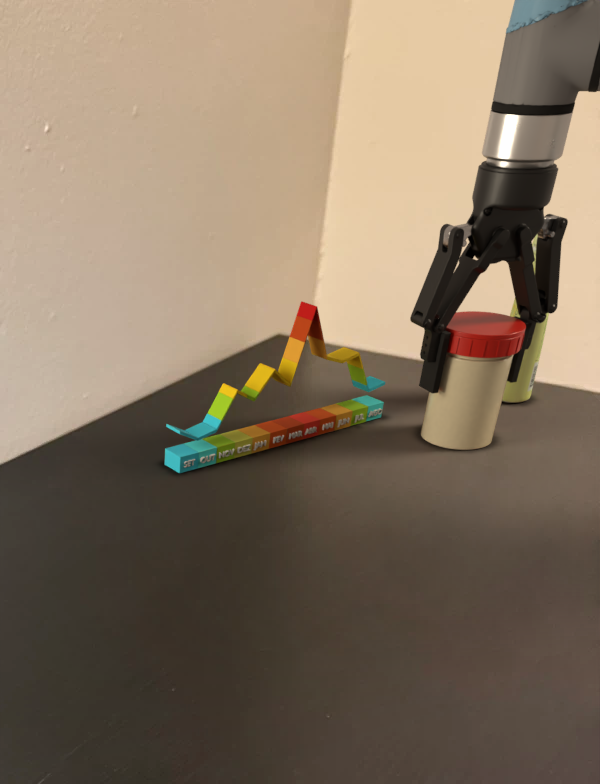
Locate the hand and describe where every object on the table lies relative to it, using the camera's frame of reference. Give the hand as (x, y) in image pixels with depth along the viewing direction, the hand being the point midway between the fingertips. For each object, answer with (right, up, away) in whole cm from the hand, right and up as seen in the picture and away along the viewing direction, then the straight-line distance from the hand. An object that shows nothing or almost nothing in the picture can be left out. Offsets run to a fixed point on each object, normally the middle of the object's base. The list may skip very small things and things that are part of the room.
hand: (467, 383), depth 112 cm
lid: (0, +5, -4) cm, 6 cm away
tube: (+11, +3, +14) cm, 18 cm away
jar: (0, -5, +4) cm, 6 cm away
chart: (-21, -5, +4) cm, 22 cm away
